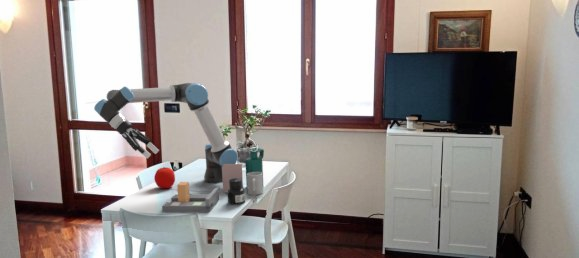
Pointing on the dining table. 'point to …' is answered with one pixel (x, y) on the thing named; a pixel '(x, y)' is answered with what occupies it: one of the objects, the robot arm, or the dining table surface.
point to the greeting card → (231, 174)
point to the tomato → (164, 177)
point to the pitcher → (254, 162)
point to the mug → (254, 183)
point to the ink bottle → (236, 191)
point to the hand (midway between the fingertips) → (153, 154)
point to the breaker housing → (193, 203)
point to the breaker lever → (183, 192)
